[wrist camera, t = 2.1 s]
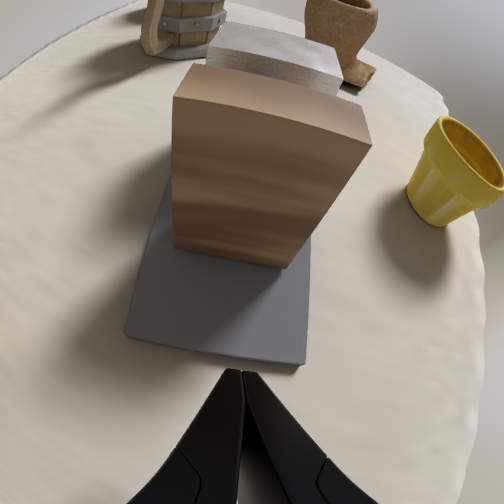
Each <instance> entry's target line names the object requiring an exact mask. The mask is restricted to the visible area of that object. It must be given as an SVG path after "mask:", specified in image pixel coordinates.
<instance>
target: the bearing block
mask: <svg viewBox="0 0 504 504" xmlns="http://www.w3.org/2000/svg"><path fill="white" fill-rule="evenodd" d="M205 65H209V66H215V67H221V68H227V69H232V70H238V71H243V72H248V73H252V74H257V75H261V76H266V77H270V78H274V79H278V80H282V81H286V82H290V83H293V84H297V85H300V86H304V87H307V88H311V89H314V90H317V91H320V92H324V93H327V94H330V95H333V96H336V94H337V92H338V90H339V88H340V86H341V84H342V82H343V80H344V78H343V75H342V71H341V68H340V65H339V61H338V58H337V55H336V52H335V49H334V48H333V47H330V46H327V45H324V44H321V43H317V42H314V41H311V40H308V39H304V38H301V37H297V36H294V35H290V34H286V33H282V32H278V31H274V30H270V29H265V28H261V27H256V26H251V25H246V24H240V23H234V22H228V21H225V22H224V24H223V25H222V27H221V28H220V29H219V31H218V32H217V34H216V35H215V36H214V38H213V39H212V41H211V42H210V44H209V45H208V51H207V57H206V64H205Z"/></svg>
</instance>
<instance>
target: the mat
mask: <svg viewBox="0 0 504 504" xmlns="http://www.w3.org/2000/svg"><path fill="white" fill-rule="evenodd" d="M310 250H311V235H310V237H309V238H308V239H307V241H306V242H305V244H304V245H303V246H302V248H301V249H300V251H299V252H298V253H297V255H296V256H295V257H294V259H293V260H292V262H291V263H290V264H289V266H288V267H287V268H286V269H281V268H275V267H270V266H265V265H260V264H254V263H249V262H244V261H239V260H234V259H229V258H224V257H218V256H213V255H208V254H203V253H198V252H193V251H188V250H183V249H178V248H174V238H173V214H172V174H171V177H170V180H169V182H168V185H167V188H166V191H165V193H164V196H163V199H162V202H161V205H160V208H159V211H158V214H157V217H156V220H155V223H154V226H153V229H152V232H151V235H150V238H149V242H148V245H147V248H146V251H145V255H144V258H143V261H142V265H141V268H140V272H139V275H138V279H137V283H136V286H135V290H134V294H133V298H132V302H131V306H130V310H129V314H128V318H127V322H126V326H125V331H124V334H125V335H126V336H128V337H132V338H136V339H140V340H145V341H149V342H153V343H158V344H162V345H167V346H172V347H177V348H182V349H187V350H192V351H197V352H203V353H208V354H214V355H220V356H226V357H233V358H240V359H246V360H254V361H261V362H269V363H278V364H287V365H297V366H301V365H304V364H305V360H306V346H307V329H308V310H309V286H310Z"/></svg>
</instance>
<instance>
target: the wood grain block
mask: <svg viewBox="0 0 504 504" xmlns="http://www.w3.org/2000/svg"><path fill="white" fill-rule="evenodd" d="M371 146H372V142H371V138H370V134H369V131H368V127H367V123H366V120H365V116H364V113H363V109H362V106H361V105H358V104H355V103H353V102H350V101H347V100H344V99H341V98H339V97H336V96H333V95H330V94H327V93H324V92H320V91H317V90H314V89H311V88H307V87H304V86H300V85H297V84H293V83H290V82H286V81H282V80H278V79H274V78H270V77H266V76H261V75H257V74H252V73H248V72H243V71H238V70H232V69H227V68H221V67H215V66H209V65H202V64H195V63H193V65H192V66H191V68H190V69H189V71H188V72H187V74H186V76H185V77H184V79H183V80H182V82H181V84H180V85H179V87H178V89H177V90H176V92H175V94H174V95H173V107H172V214H173V238H174V248H178V249H183V250H188V251H193V252H198V253H203V254H208V255H213V256H218V257H224V258H229V259H234V260H239V261H244V262H249V263H254V264H260V265H265V266H270V267H275V268H281V269H286V268H287V267H288V266H289V264H290V263H291V262H292V260H293V259H294V257H295V256H296V255H297V253H298V252H299V251H300V249H301V248H302V246H303V245H304V244H305V242H306V241H307V239H308V238H309V237H310V235H311V234H312V232H313V231H314V230H315V228H316V227H317V225H318V224H319V223H320V221H321V220H322V218H323V217H324V215H325V214H326V213H327V211H328V210H329V208H330V207H331V205H332V204H333V203H334V201H335V200H336V198H337V197H338V195H339V194H340V192H341V191H342V189H343V188H344V187H345V185H346V184H347V182H348V181H349V179H350V178H351V176H352V175H353V173H354V172H355V170H356V169H357V167H358V166H359V164H360V163H361V161H362V160H363V158H364V157H365V155H366V154H367V152H368V151H369V149H370V148H371Z"/></svg>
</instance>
